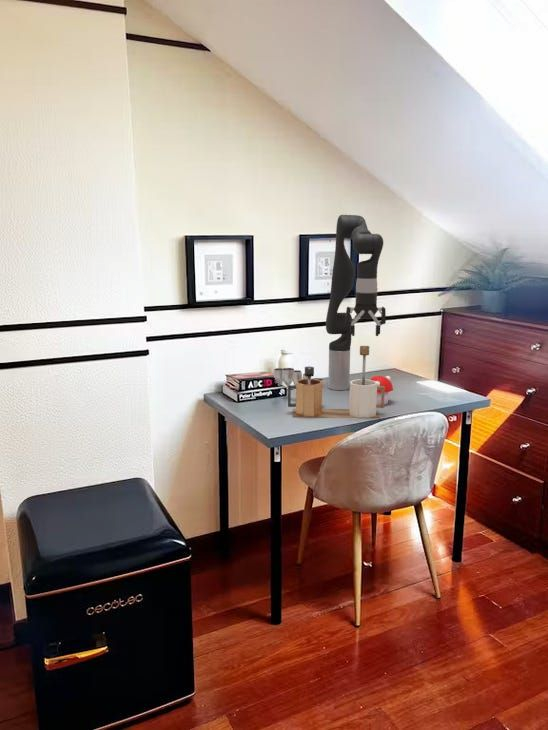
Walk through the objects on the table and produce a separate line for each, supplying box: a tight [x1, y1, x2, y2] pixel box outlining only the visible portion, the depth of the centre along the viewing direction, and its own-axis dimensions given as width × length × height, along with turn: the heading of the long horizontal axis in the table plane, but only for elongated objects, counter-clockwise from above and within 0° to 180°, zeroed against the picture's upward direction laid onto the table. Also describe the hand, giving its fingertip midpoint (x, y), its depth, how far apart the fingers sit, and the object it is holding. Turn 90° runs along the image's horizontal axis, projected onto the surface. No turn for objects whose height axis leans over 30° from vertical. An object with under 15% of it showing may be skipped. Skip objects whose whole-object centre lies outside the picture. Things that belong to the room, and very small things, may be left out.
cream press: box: [348, 378, 385, 419], centre depth 229 cm, size 10×13×12 cm
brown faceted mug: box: [287, 378, 323, 417], centre depth 229 cm, size 10×13×12 cm
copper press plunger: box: [304, 366, 315, 385], centre depth 229 cm, size 7×7×16 cm
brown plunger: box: [359, 345, 370, 385], centre depth 226 cm, size 7×7×16 cm
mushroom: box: [369, 375, 394, 405], centre depth 244 cm, size 11×11×12 cm
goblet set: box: [273, 367, 325, 399], centre depth 246 cm, size 28×6×13 cm, turn 39°
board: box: [292, 408, 381, 419], centre depth 230 cm, size 11×32×1 cm, turn 88°
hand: (364, 335), depth 224 cm, fingers open, 8 cm apart
